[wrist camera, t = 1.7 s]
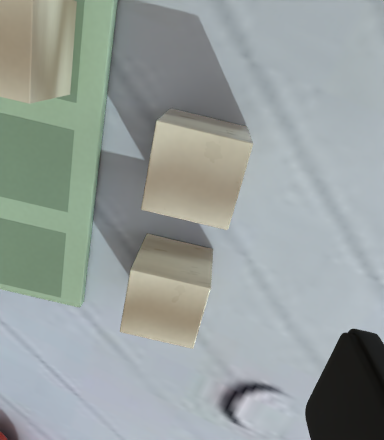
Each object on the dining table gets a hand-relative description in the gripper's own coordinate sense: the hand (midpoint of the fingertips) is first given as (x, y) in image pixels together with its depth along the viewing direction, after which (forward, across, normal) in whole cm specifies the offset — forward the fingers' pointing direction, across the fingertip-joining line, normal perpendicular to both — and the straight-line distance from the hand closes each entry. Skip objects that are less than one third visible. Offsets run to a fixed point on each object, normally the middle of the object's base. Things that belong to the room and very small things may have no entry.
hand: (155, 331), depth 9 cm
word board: (+16, +11, +2) cm, 20 cm away
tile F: (+16, 0, +8) cm, 18 cm away
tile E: (+15, +11, -5) cm, 19 cm away
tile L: (+16, 0, -1) cm, 16 cm away
